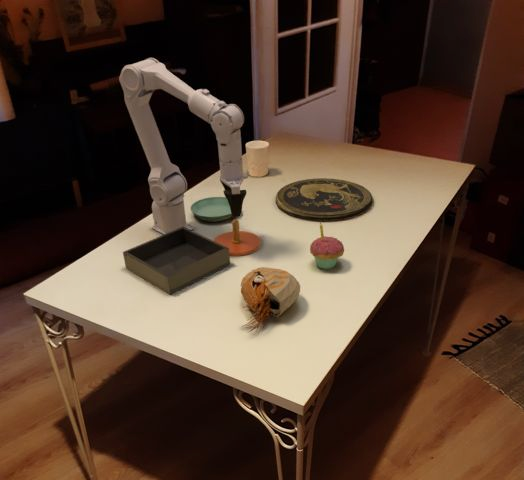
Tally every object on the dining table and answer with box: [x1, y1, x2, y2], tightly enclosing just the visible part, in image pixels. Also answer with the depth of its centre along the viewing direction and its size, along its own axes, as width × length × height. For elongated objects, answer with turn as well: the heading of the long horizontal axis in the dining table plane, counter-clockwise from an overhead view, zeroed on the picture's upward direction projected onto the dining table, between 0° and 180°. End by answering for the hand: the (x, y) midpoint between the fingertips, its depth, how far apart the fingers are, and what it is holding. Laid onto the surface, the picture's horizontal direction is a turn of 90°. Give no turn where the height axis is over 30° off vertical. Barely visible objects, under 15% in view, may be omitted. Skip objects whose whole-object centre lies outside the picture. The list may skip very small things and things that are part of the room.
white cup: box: [245, 140, 270, 178], centre depth 192 cm, size 8×8×10 cm
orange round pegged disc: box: [213, 218, 262, 257], centre depth 152 cm, size 13×13×7 cm
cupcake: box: [309, 221, 345, 270], centre depth 141 cm, size 9×8×12 cm
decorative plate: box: [275, 177, 374, 221], centre depth 175 cm, size 30×2×30 cm
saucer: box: [189, 196, 233, 223], centre depth 169 cm, size 15×15×3 cm
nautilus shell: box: [240, 266, 301, 334], centre depth 126 cm, size 8×22×15 cm
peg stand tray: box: [122, 227, 231, 295], centre depth 144 cm, size 19×20×5 cm
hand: (234, 210), depth 148 cm, fingers open, 7 cm apart
